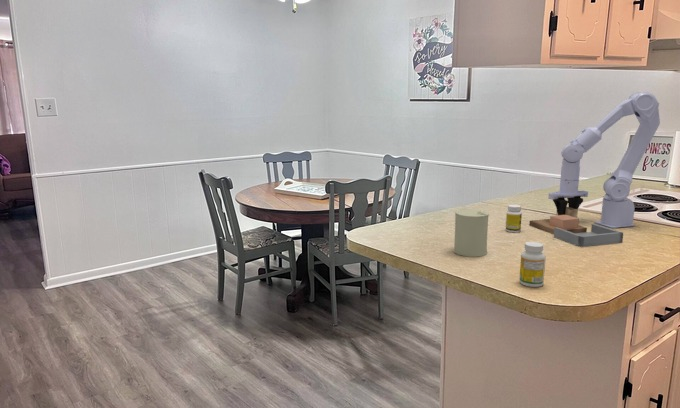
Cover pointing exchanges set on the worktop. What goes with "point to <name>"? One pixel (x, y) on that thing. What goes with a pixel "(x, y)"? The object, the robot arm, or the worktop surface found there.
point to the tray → (590, 236)
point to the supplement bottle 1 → (513, 218)
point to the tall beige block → (570, 212)
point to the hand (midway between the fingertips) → (566, 218)
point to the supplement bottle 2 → (532, 265)
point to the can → (471, 232)
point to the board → (547, 227)
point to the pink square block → (564, 221)
